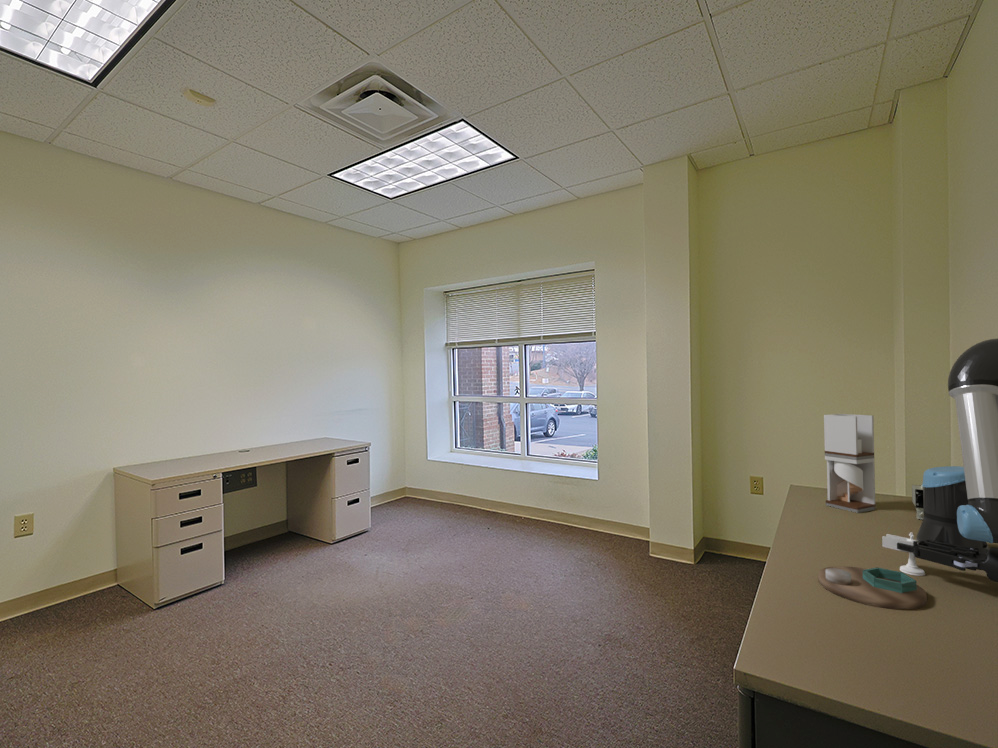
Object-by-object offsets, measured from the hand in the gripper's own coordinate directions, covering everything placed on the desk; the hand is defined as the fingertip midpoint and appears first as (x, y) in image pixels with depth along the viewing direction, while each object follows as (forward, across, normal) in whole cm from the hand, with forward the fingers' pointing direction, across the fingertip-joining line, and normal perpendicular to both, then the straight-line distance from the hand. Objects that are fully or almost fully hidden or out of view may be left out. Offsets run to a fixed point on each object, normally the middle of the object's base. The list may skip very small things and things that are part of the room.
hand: (885, 540), depth 127 cm
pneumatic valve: (+8, +60, -7) cm, 61 cm away
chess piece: (-6, 0, -7) cm, 9 cm away
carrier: (-3, -20, -6) cm, 22 cm away
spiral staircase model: (+29, +57, -7) cm, 65 cm away
